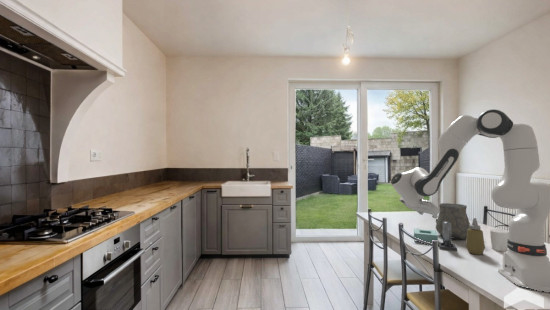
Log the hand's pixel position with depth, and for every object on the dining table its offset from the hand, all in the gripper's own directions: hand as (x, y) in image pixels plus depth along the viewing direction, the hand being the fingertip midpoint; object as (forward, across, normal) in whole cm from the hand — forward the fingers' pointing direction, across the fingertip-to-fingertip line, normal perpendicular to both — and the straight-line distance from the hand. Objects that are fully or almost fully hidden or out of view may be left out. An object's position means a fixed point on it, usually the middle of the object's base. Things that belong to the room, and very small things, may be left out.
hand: (428, 215), depth 151 cm
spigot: (+21, -1, +5) cm, 22 cm away
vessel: (+37, +15, -10) cm, 41 cm away
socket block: (+21, +14, +5) cm, 26 cm away
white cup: (+38, -11, -12) cm, 42 cm away
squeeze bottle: (+26, -12, 0) cm, 28 cm away
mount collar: (+21, -1, +5) cm, 22 cm away
